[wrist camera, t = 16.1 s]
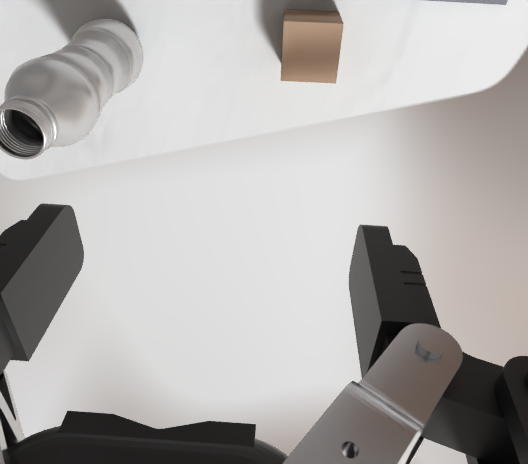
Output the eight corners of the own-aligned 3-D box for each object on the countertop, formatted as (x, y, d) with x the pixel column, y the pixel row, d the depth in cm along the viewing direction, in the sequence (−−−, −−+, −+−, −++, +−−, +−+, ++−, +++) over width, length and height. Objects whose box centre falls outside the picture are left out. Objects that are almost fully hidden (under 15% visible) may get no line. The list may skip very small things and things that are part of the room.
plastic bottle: (162, 50, 45) (89, 136, 29) (121, 95, 48) (35, 195, 32) (108, -3, 42) (-4, 58, 26) (69, 48, 45) (-54, 131, 29)
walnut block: (284, 9, 42) (283, 21, 38) (338, 11, 42) (343, 23, 38) (281, 64, 45) (280, 80, 41) (332, 66, 45) (335, 83, 41)
